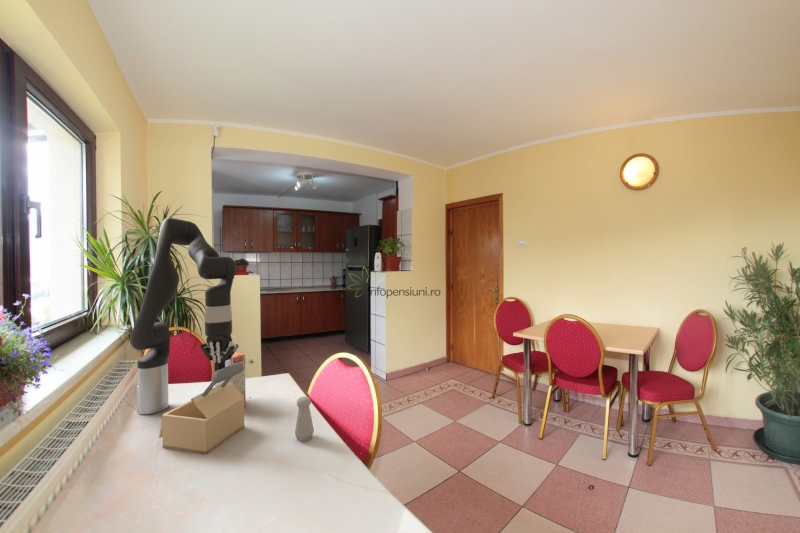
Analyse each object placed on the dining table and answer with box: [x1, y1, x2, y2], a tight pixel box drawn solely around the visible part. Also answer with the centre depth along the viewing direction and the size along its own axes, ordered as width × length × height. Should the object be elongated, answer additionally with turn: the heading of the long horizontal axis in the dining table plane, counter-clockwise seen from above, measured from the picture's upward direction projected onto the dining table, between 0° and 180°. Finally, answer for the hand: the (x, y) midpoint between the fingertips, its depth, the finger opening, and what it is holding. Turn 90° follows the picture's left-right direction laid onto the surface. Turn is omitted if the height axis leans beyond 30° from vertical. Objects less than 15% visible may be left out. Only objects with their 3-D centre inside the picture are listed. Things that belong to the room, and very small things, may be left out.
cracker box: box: [214, 351, 247, 409], centre depth 127 cm, size 14×6×21 cm, turn 52°
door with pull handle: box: [190, 362, 244, 419], centre depth 102 cm, size 9×15×11 cm
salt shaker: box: [294, 396, 315, 443], centre depth 103 cm, size 6×6×13 cm
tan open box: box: [158, 398, 245, 455], centre depth 105 cm, size 18×16×10 cm
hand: (220, 373), depth 103 cm, fingers closed
